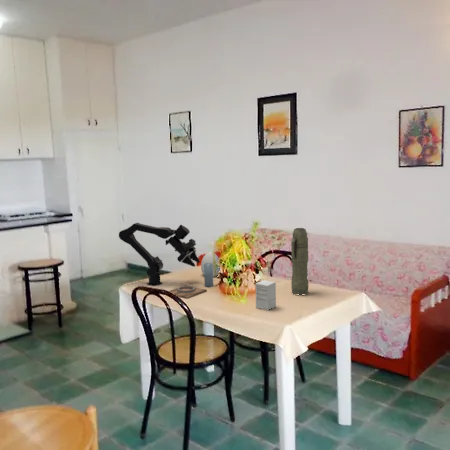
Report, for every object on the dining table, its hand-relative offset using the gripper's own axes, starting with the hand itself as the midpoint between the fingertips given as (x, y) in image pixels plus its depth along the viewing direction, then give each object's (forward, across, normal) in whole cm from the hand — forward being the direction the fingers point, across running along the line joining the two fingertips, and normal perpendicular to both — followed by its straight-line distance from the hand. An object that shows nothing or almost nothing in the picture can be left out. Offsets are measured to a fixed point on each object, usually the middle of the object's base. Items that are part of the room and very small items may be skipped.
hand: (197, 264), depth 280 cm
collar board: (+7, -15, +11) cm, 19 cm away
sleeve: (+14, 0, +4) cm, 14 cm away
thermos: (+51, -7, -32) cm, 60 cm away
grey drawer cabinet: (+40, -33, -22) cm, 57 cm away
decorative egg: (+10, +23, +8) cm, 26 cm away
